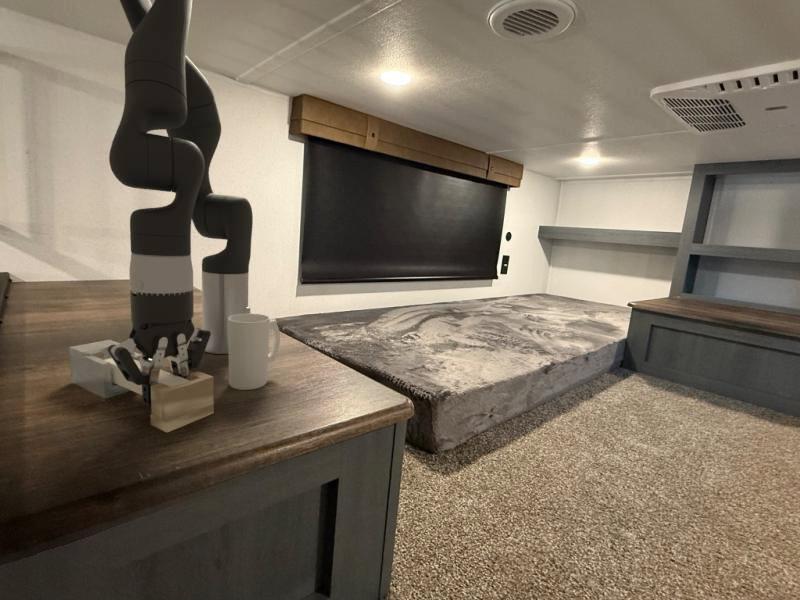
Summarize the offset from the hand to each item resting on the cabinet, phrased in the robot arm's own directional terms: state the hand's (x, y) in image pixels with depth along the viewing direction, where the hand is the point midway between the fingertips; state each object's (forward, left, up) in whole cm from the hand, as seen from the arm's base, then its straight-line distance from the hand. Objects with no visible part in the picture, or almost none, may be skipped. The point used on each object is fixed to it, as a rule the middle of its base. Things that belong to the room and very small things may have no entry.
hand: (165, 402), depth 57 cm
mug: (-14, -7, -2) cm, 16 cm away
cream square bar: (+2, -4, +1) cm, 5 cm away
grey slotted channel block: (+8, -13, -1) cm, 15 cm away
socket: (-2, +4, -1) cm, 4 cm away
